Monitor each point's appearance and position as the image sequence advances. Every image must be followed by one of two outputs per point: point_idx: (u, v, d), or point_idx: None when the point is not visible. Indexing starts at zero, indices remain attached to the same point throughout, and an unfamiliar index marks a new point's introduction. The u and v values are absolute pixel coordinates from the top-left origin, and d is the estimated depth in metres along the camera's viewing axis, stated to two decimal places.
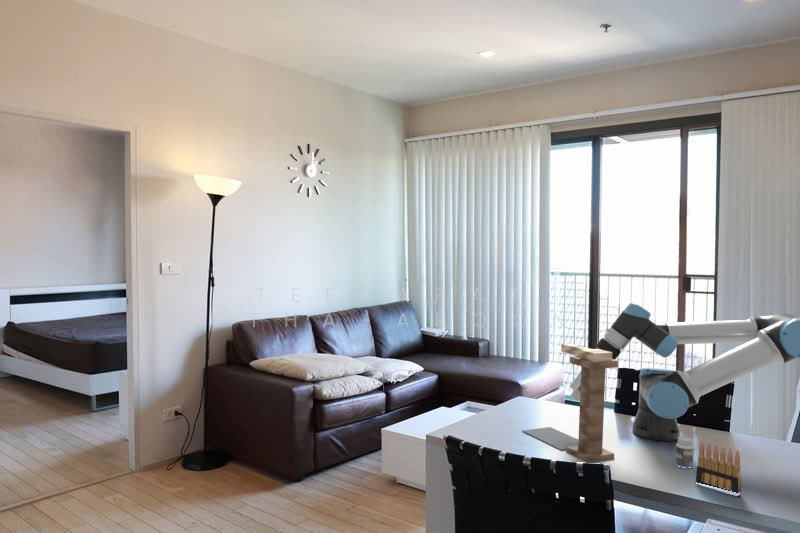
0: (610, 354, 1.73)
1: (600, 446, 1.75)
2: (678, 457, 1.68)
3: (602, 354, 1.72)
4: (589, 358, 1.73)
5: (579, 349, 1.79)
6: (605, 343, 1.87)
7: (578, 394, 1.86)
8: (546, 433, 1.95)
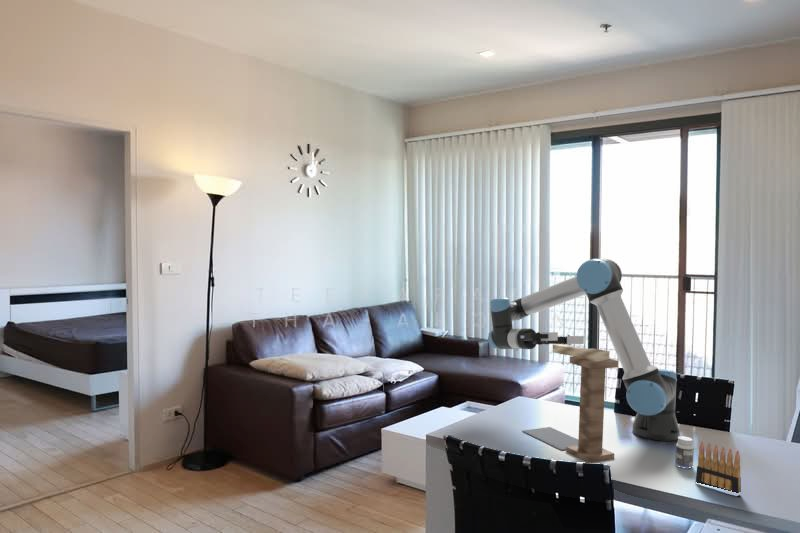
0: (608, 353, 1.75)
1: (600, 446, 1.75)
2: (678, 457, 1.68)
3: (602, 353, 1.73)
4: (591, 358, 1.72)
5: (575, 349, 1.79)
6: (519, 344, 2.07)
7: (551, 335, 1.90)
8: (546, 433, 1.95)
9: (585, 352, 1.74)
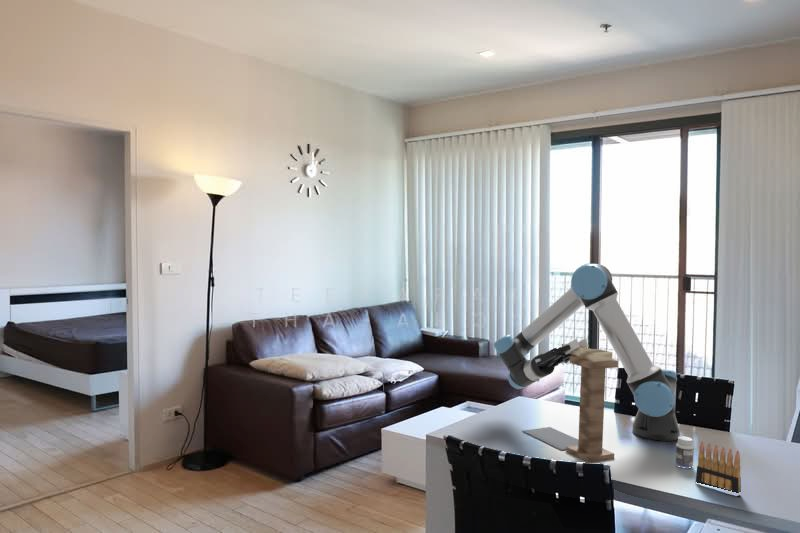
0: (610, 354, 1.73)
1: (600, 446, 1.75)
2: (678, 457, 1.69)
3: (602, 354, 1.72)
4: (589, 358, 1.72)
5: (579, 349, 1.79)
6: (536, 372, 1.96)
7: (572, 344, 1.81)
8: (546, 433, 1.95)
9: (585, 352, 1.74)
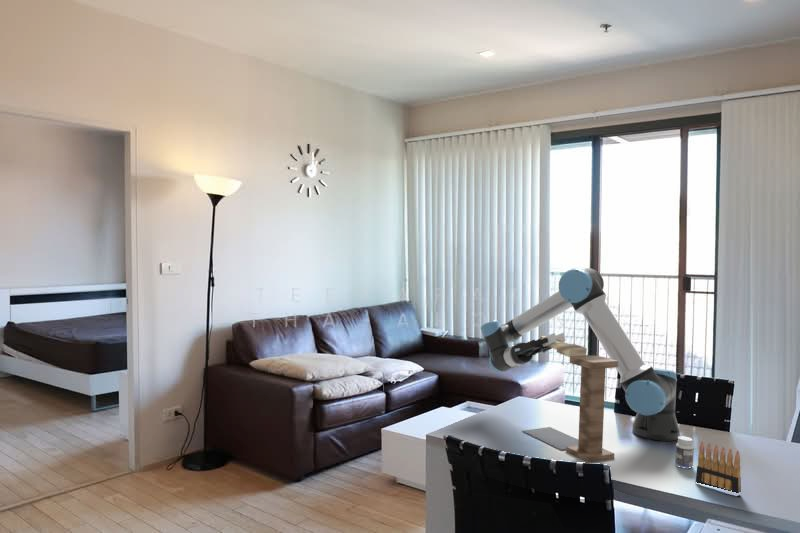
0: (584, 350, 1.84)
1: (600, 446, 1.75)
2: (678, 457, 1.69)
3: (577, 350, 1.82)
4: (564, 353, 1.83)
5: (556, 343, 1.90)
6: (515, 360, 2.07)
7: (550, 337, 1.91)
8: (546, 433, 1.95)
9: (561, 347, 1.85)
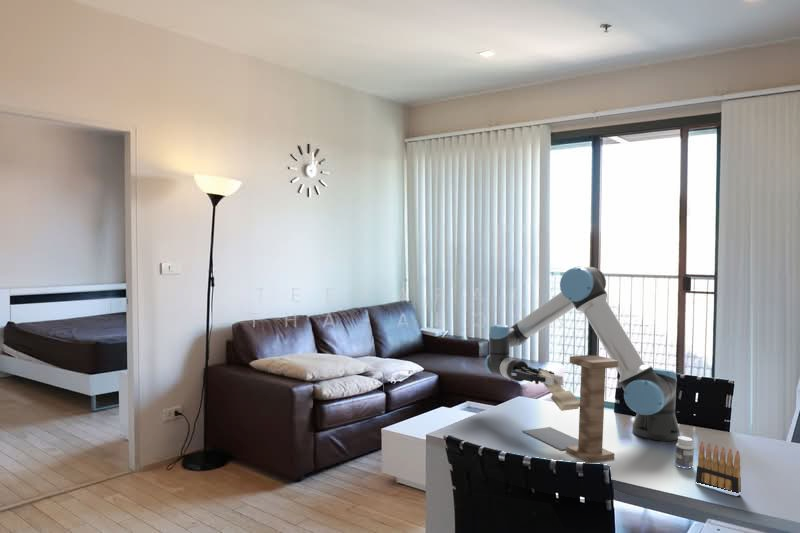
0: (578, 404, 1.86)
1: (600, 446, 1.75)
2: (678, 457, 1.69)
3: (571, 405, 1.84)
4: (558, 404, 1.85)
5: (553, 387, 1.90)
6: (509, 376, 2.10)
7: (548, 379, 1.92)
8: (546, 433, 1.95)
9: (556, 397, 1.86)
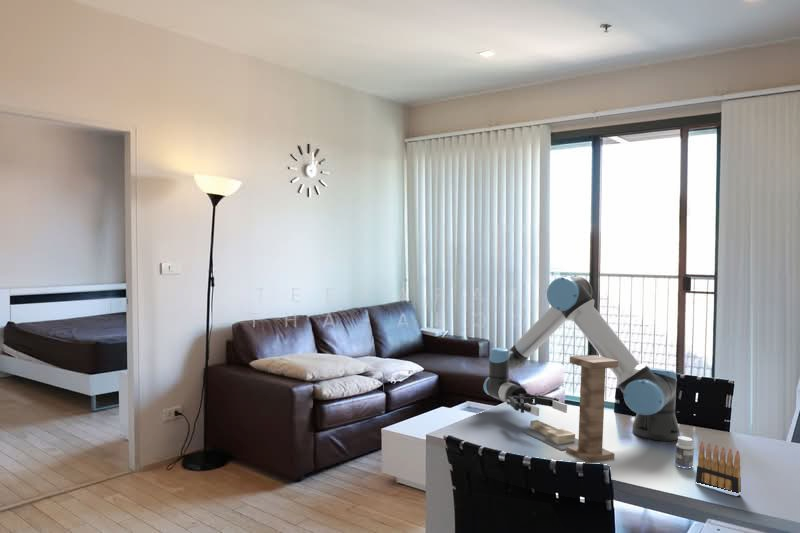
0: (573, 436, 1.87)
1: (600, 446, 1.75)
2: (678, 457, 1.69)
3: (565, 436, 1.86)
4: (553, 440, 1.87)
5: (545, 428, 1.93)
6: None
7: (533, 409, 1.92)
8: None
9: (550, 433, 1.88)
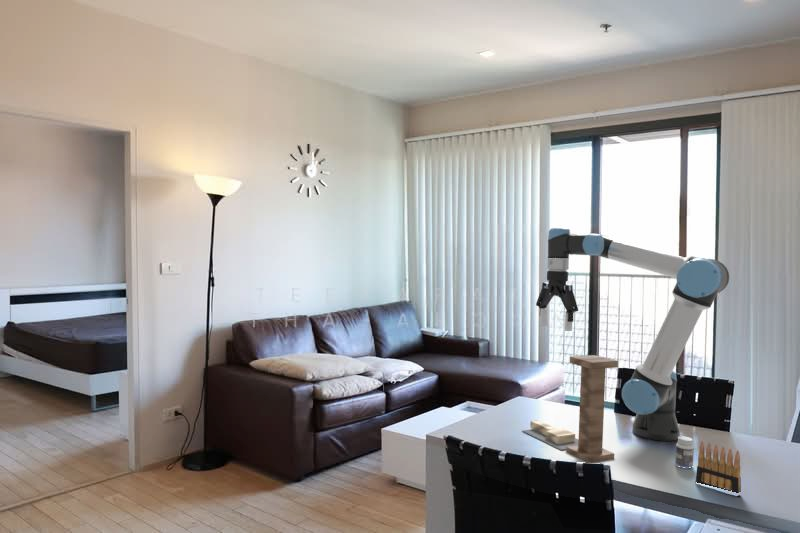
0: (573, 436, 1.87)
1: (600, 446, 1.75)
2: (678, 457, 1.69)
3: (565, 436, 1.86)
4: (553, 440, 1.87)
5: (545, 428, 1.93)
6: (558, 273, 2.05)
7: (570, 325, 2.03)
8: None
9: (550, 433, 1.88)
